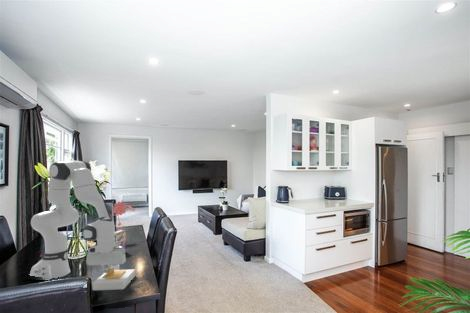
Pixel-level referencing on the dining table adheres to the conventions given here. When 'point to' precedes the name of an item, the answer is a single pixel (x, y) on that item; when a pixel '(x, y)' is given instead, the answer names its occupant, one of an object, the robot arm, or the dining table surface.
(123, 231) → the candy bar box
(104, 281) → the socket plate
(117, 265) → the plug
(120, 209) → the pink flowers
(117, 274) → the shutter
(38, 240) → the dining table surface
